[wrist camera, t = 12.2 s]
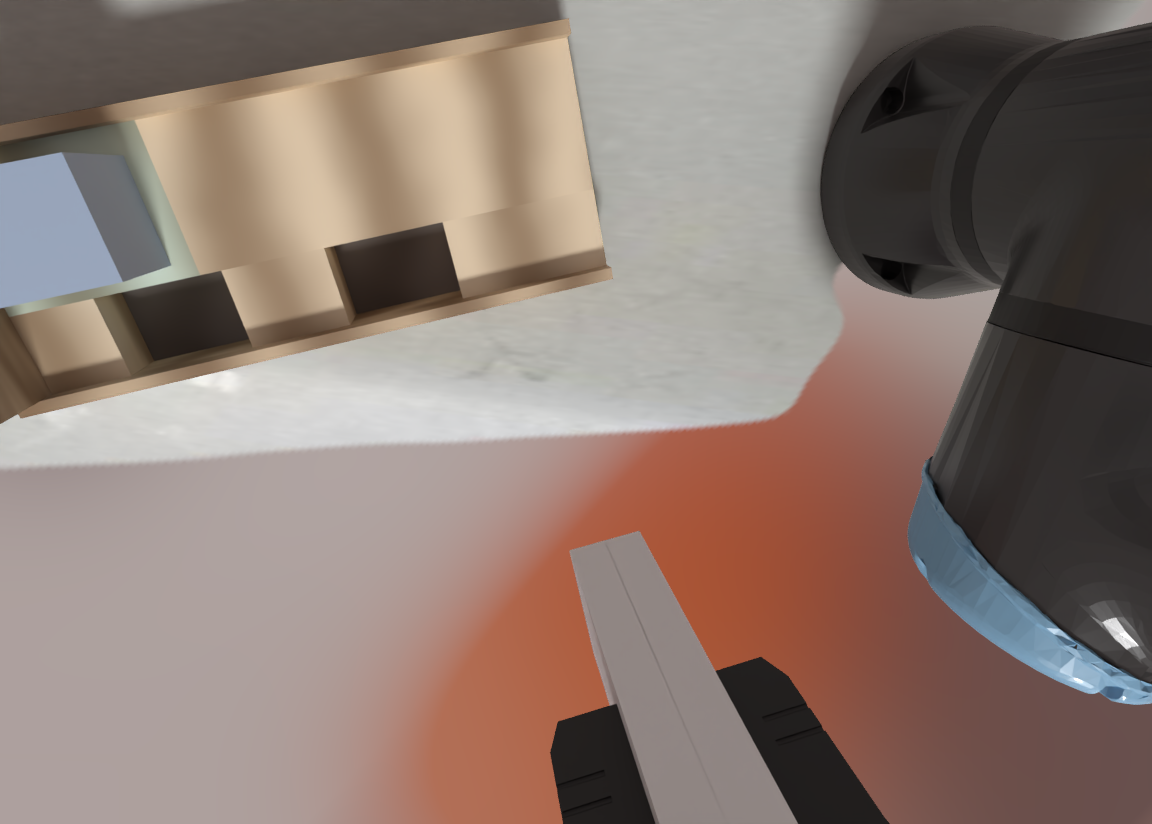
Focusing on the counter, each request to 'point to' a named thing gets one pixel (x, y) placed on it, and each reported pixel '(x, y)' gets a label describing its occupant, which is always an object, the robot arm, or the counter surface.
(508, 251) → the board
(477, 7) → the counter surface
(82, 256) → the block
